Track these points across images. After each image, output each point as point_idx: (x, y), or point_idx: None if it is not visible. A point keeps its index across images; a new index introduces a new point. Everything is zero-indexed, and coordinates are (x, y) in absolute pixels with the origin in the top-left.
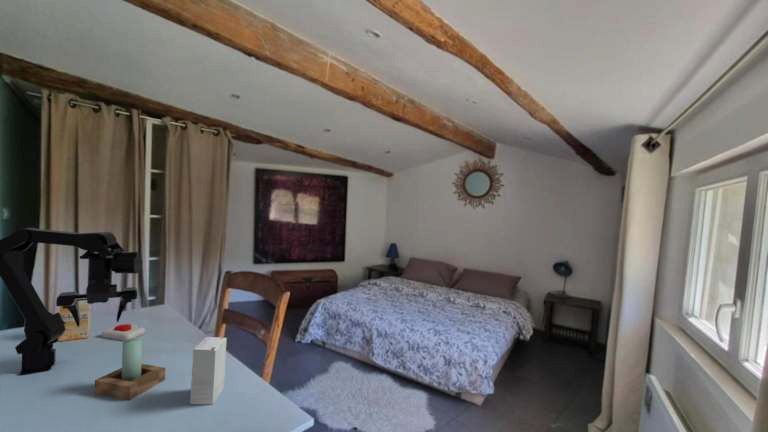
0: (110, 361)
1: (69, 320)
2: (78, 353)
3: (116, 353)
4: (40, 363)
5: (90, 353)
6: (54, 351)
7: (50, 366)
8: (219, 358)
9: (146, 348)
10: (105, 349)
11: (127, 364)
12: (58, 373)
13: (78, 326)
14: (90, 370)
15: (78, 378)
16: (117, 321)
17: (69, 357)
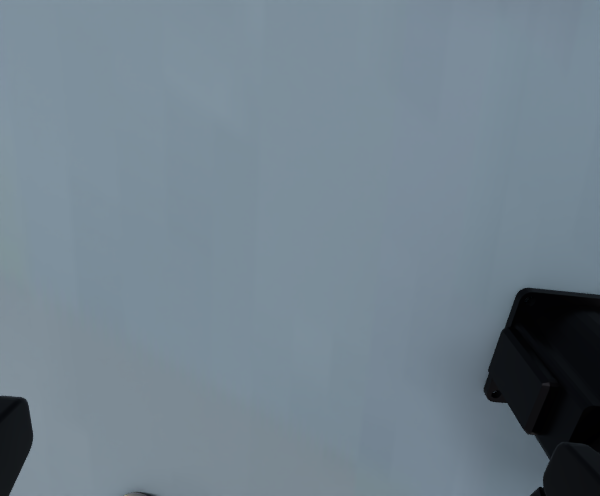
0: (222, 235)
1: None
2: (367, 443)
3: (189, 345)
4: (589, 326)
5: (316, 415)
6: (540, 393)
7: (517, 320)
8: None
9: (21, 331)
10: (244, 431)
11: None
12: (492, 215)
13: (571, 444)
14: (336, 150)
15: (413, 47)
16: (6, 400)
17: (410, 414)
